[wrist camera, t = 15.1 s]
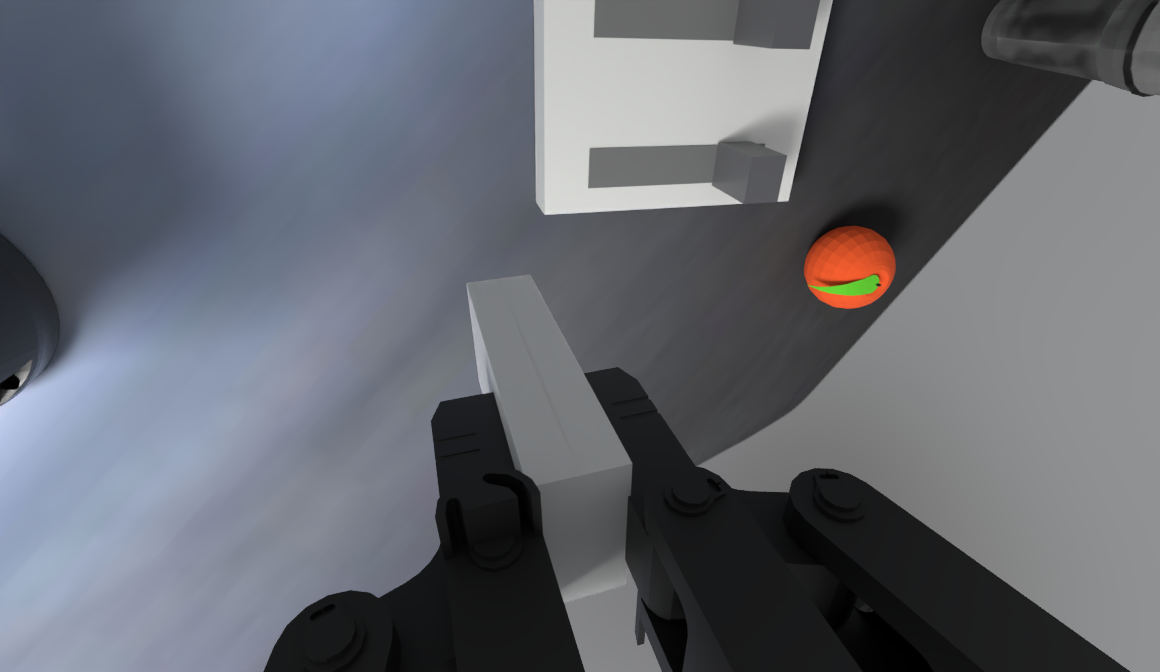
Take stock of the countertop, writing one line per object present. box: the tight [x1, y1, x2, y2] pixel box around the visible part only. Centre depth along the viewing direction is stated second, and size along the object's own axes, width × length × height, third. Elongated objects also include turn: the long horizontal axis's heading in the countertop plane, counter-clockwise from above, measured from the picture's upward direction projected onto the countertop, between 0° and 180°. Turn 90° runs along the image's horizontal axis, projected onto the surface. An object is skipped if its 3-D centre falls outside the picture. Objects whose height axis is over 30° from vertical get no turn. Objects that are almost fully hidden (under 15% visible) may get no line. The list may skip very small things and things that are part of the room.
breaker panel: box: [534, 0, 833, 215], centre depth 33 cm, size 19×24×8 cm
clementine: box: [804, 226, 896, 309], centre depth 46 cm, size 8×7×7 cm
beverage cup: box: [981, 0, 1160, 97], centre depth 35 cm, size 7×7×20 cm
